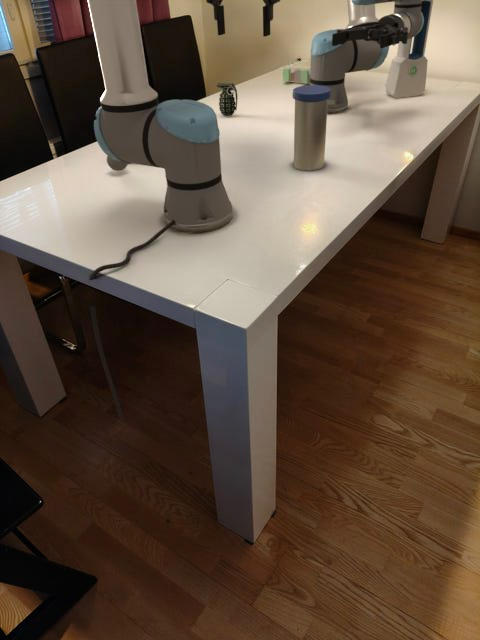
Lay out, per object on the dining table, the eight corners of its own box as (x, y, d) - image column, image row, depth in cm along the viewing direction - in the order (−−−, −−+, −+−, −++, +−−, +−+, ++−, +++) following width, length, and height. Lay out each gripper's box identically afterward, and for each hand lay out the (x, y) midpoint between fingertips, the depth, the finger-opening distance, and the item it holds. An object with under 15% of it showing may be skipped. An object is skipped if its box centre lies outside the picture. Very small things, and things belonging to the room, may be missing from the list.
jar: (330, 165, 128) (335, 91, 117) (307, 173, 125) (310, 97, 114) (309, 157, 134) (312, 86, 122) (287, 164, 130) (288, 91, 119)
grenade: (217, 117, 168) (214, 86, 162) (221, 112, 172) (219, 82, 166) (235, 117, 166) (233, 86, 160) (239, 113, 171) (238, 82, 165)
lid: (338, 96, 118) (338, 89, 117) (310, 104, 114) (310, 96, 113) (312, 90, 124) (313, 83, 123) (285, 97, 120) (285, 90, 119)
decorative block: (305, 54, 216) (346, 57, 206) (304, 70, 220) (345, 74, 210) (274, 66, 200) (317, 69, 190) (274, 83, 204) (316, 87, 194)
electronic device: (393, 98, 176) (407, -1, 157) (383, 94, 181) (395, -2, 163) (424, 94, 178) (441, -4, 160) (413, 90, 184) (428, -5, 165)
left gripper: (294, -71, 114) (292, 33, 127) (203, -65, 124) (210, 31, 137) (281, -70, 109) (280, 38, 122) (187, -64, 119) (196, 36, 132)
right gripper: (433, 46, 133) (401, 60, 120) (350, 43, 146) (314, 54, 133) (438, 14, 129) (406, 24, 116) (352, 13, 142) (315, 23, 129)
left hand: (243, 35), depth 129 cm, fingers open, 13 cm apart
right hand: (357, 41), depth 125 cm, fingers open, 13 cm apart
